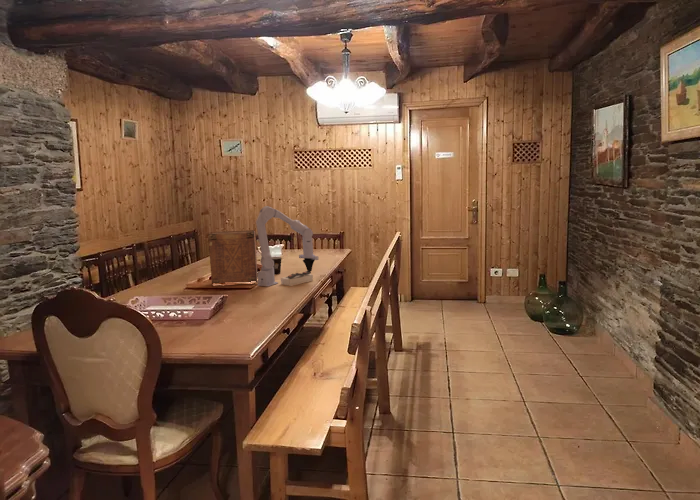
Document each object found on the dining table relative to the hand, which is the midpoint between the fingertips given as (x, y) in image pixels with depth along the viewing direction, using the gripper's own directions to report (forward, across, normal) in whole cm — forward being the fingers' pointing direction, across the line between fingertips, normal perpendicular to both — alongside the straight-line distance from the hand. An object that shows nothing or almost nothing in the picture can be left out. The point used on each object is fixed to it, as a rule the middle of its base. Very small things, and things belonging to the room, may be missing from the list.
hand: (309, 271), depth 300 cm
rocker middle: (+1, 0, +8) cm, 8 cm away
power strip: (+5, +2, +8) cm, 10 cm away
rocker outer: (+1, 0, +2) cm, 3 cm away
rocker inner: (+1, 0, +13) cm, 13 cm away
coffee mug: (+5, +34, 0) cm, 34 cm away
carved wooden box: (+4, +29, +32) cm, 43 cm away
